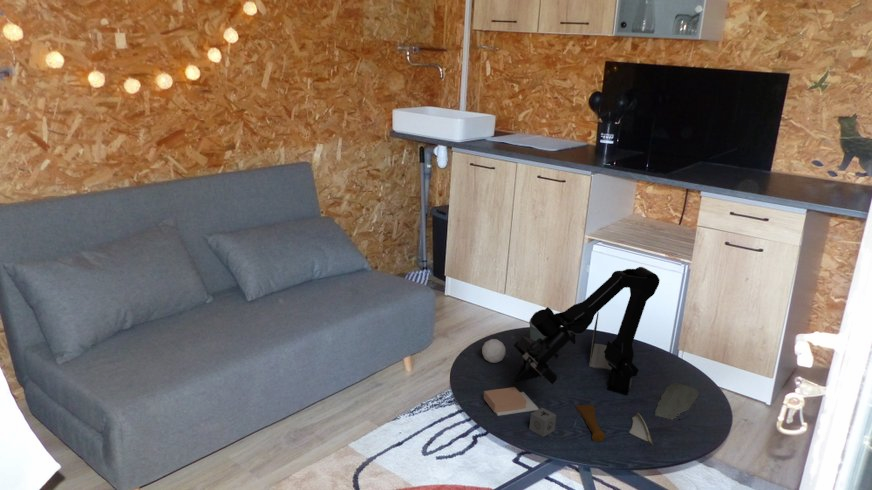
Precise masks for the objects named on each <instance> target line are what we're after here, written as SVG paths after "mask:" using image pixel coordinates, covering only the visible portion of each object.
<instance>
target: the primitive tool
mask: <svg viewBox="0 0 872 490" xmlns="http://www.w3.org/2000/svg"><path fill="white" fill-rule="evenodd" d="M575 408H576V410H577V412H578V413H579V414H580V415H581V417H582V419H583V420H584V422H585V423H586V425H587V427H588V429H589V430H590V432H591V434H592V435H591V439H592V441H593V442H595V443H602V442H603V441H605V438H606V435H605V432H604V431H602V430H601V427H600V426H599V424H598V421H597V417H596V413H595V411H596V409H595V407H594V406H593V405H592V404H583V405H582V404H576V405H575Z"/></svg>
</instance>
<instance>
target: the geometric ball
mask: <svg viewBox="0 0 872 490" xmlns="http://www.w3.org/2000/svg"><path fill="white" fill-rule="evenodd" d="M481 349H482V350H481V352H482V355H483V358H484V360H486V361H487V362H489V363H493V364H496V363H499V362H501V361H503V360H504V357H505V356H506V347H505V345H504V343H503V342H502V341H500V340H498V339H497V338H491V339H489V340H487V341H485V342H484V344H483V345H482V347H481Z"/></svg>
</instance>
